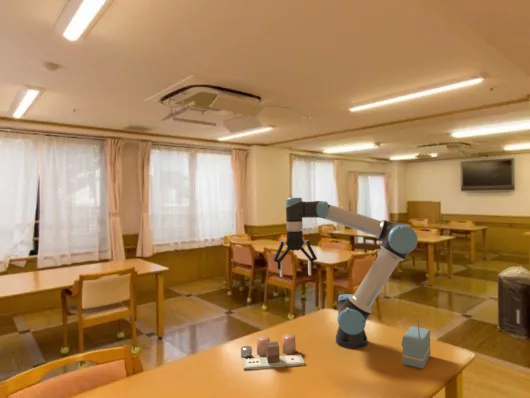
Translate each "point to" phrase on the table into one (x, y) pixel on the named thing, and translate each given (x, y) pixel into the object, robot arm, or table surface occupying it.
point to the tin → (246, 352)
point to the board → (263, 363)
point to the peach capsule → (289, 344)
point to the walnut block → (272, 352)
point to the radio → (416, 346)
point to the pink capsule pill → (262, 345)
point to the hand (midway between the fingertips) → (295, 275)
